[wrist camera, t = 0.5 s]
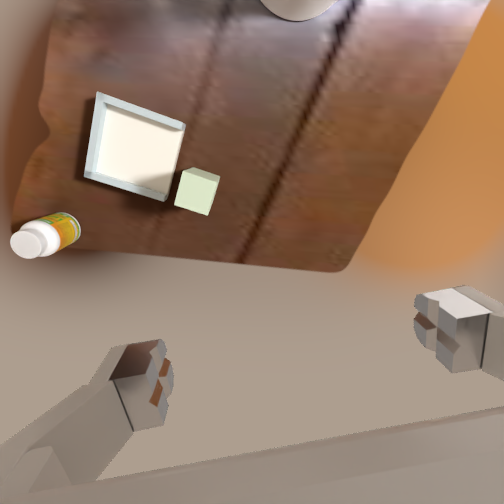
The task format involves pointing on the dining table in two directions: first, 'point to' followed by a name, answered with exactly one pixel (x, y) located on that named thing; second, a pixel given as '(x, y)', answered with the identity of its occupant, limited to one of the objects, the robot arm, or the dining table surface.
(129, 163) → the holder
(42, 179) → the dining table surface
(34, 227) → the supplement bottle
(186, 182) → the green block
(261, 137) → the dining table surface
